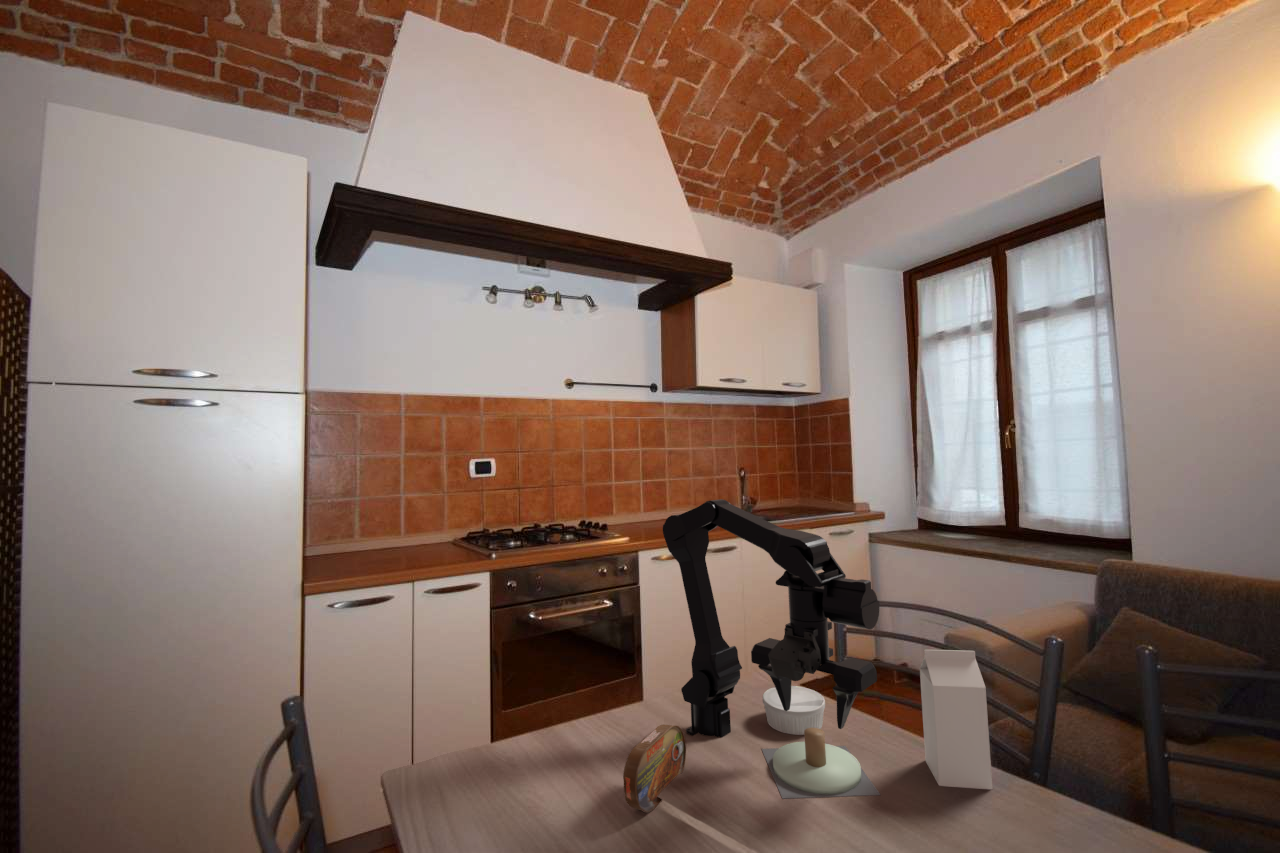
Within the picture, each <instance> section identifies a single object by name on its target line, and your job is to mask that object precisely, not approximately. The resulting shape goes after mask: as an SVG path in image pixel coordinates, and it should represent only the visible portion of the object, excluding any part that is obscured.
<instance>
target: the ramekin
mask: <svg viewBox="0 0 1280 853" xmlns="http://www.w3.org/2000/svg"><path fill="white" fill-rule="evenodd" d="M762 704H763V706H764V710H765V715H766V720H767V723H768V725H769V726H770V728H772V729H774V730H775V731H778V732H781V733H784V734H788V735H793V736H795V735H796V736H797V735H799V736H802V735H804V736H805V734H804V731H805V729H807V728H818V729H821V730H822V727H823V722H824V713H825V712H824V710H825V708H826V700H825V697H824V696H823V695H822V694H821V693H820V692H818V691H815V690H814V689H810V688H807V687H804V686H796V685H791V703H790V709H789V710H788V711H785V710H784V708H783V706H782V703H781V701H780V698H779V695H778V693H777V690H776V688H775V686H773V687H770V688H768V689H767V690H766V691H764V692H763V694H762Z"/></svg>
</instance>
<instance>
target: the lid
mask: <svg viewBox="0 0 1280 853" xmlns="http://www.w3.org/2000/svg"><path fill="white" fill-rule="evenodd" d="M804 734H805V735H804V740H803V741H795V742H791V743H787V744H785V745H782V746H780V747H778V748H779V749H778V750H777V751H776V752H775V753H774V755H773V769H774V772H775V774H776V775H777V776H778V778H780V779H781V780H782V781H783V782H784V783H786V784H788V785H789V786H791V787H793V788H796V789H798V790H802V791H805V792H809V793H815V794H839V793H844V792H847V791H850V790H852V789H854V788H855V787H856V786H857V785H858V784H859V783H860V781H861V768H862V767H861V764H860V761H859V760H858V759H857V758H856V757H855V756H854V755H853V754H852V753H851V752H850V753H851V754H850V753H849V752H847V751H846V750H843V749H841V748H839V747H836V746H837V745H833V744H829V743H826V738H825V737H826V733H825V731H824V730H823V729H822V728H821V729H818V728H807V729H805V731H804Z"/></svg>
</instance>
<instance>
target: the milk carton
mask: <svg viewBox="0 0 1280 853" xmlns="http://www.w3.org/2000/svg"><path fill="white" fill-rule="evenodd" d="M923 653H924V655H923V656H924V657H923V659H922V661H921V664H920V665H919V678H920V679H919V680H920V694H921V711H922V712H921V713H922V725H923V744H924V758H925V759H924V761H925V763H926V764H927V766H928V769H929V770H930V772H931V773H932V775H933V777H934V780H935V781H936V783H937V784H938V786H939V787H950V788H951V787H952V788H963V789H965V788H966V789H978V790H979V789H980V790H993V777H992V776H993V775H992V763H991V760H992V759H991V747H990V734H989V733H990V732H989V720H988V718H989V717H988V704H987V702H988V701H987V691H986V689H987V688H986V685H985V682H984V679H983V675H982V673H981V669H980V668H979V664H978V661H977V659H976V651H975V650H956V649H955V650H953V649H924V650H923Z"/></svg>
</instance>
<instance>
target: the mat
mask: <svg viewBox="0 0 1280 853" xmlns="http://www.w3.org/2000/svg"><path fill="white" fill-rule="evenodd" d="M835 746H836V747H839V748H841V749H843V750H846V751H847V752H849V753H850V754H852V753H851V751H850V750H849V749H848V747H847V746H846V745H835ZM779 748H780V747H778V748H777V747H776V748H773V747H772V748H771V747H770V748H761V751H762V754H763V756H764V758H765V761H766V763H767V765H768V768H769V770H770V773H771V775H772V778H773V780H774V782H775V784H776V787H777V790H778V792H779V794H780V796H781V798H782V800H787V799H788V800H791V799H812V798H813V799H814V798H818V799H820V798H840V797H842V798H843V797H845V798H847V797H868V796H871V797H872V796H873V797H874V796H881V793H880V792H879V791H878V789H877V788H876V786H875V785H874V783H873V781H872V780H871V779H870V778H869V776H868V775H867V774H866V772H865V771H864V769H863V768H862V767H861V781H860V783H859V784H858V785H857V786H856V787H855V788H854V789H852V790H850V791H847V792H844V793H839V794H815V793H809V792H805V791H802V790H798V789H796V788H793V787H791V786H789V785H788V784H786V783H784V782H783V781H782V780H781V779H780V778H778V776H777V775H776V774H775V772H774V769H773V755H774V753H775V752H776V751H777V750H778V749H779Z"/></svg>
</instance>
